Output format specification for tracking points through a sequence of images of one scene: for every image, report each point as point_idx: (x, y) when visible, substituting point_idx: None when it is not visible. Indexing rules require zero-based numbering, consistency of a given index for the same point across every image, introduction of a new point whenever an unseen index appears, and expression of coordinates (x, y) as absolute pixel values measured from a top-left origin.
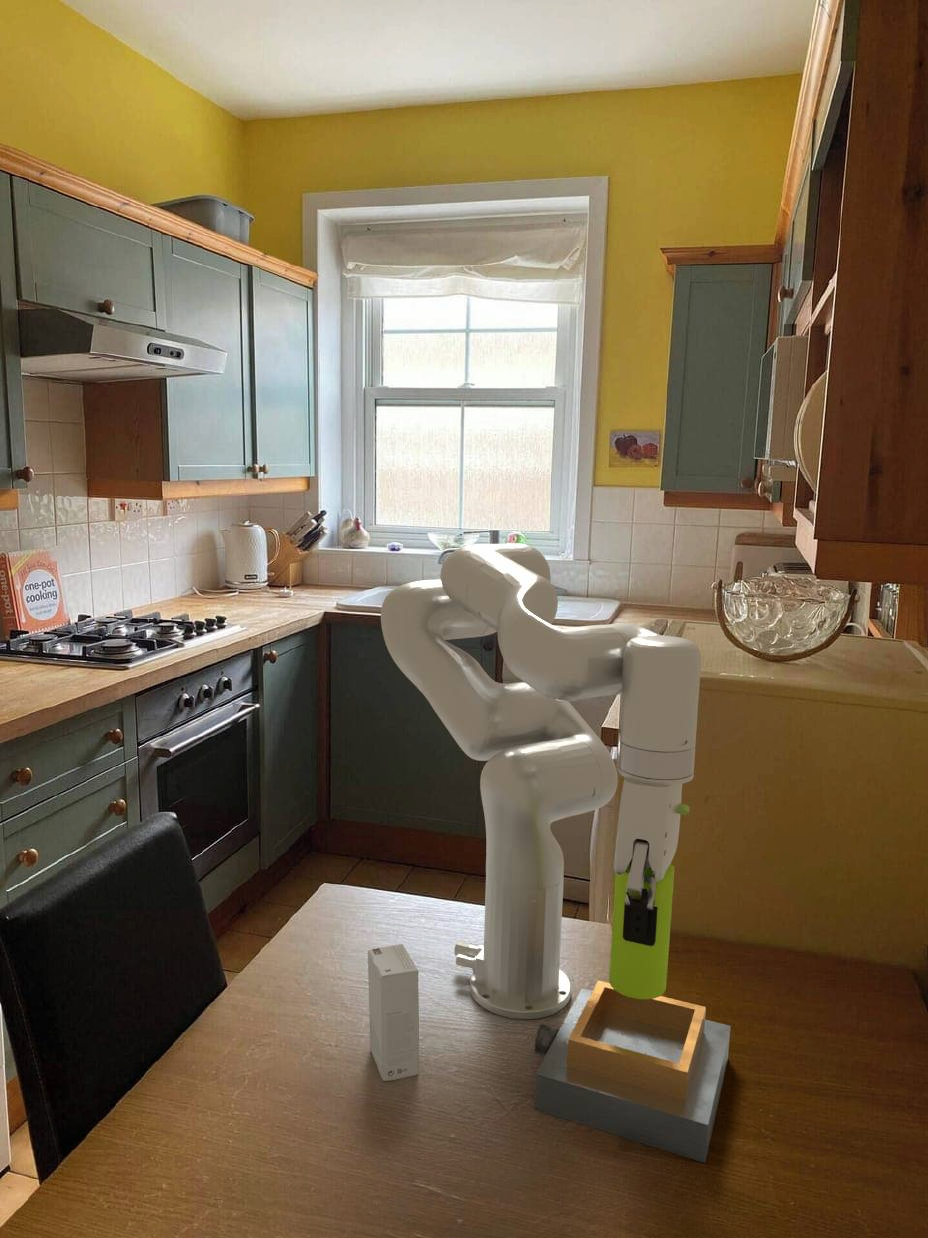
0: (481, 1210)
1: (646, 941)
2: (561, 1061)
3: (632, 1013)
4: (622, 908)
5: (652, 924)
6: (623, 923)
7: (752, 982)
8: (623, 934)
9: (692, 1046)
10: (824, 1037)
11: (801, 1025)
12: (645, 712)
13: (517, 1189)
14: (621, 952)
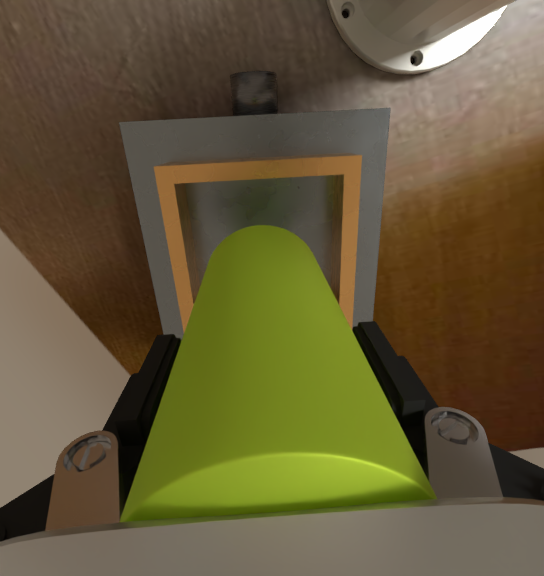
0: None
1: None
2: (172, 150)
3: (334, 220)
4: (172, 369)
5: None
6: (144, 361)
7: (538, 311)
8: (154, 342)
9: None
10: (437, 389)
11: (453, 369)
12: None
13: (5, 160)
14: (196, 297)
